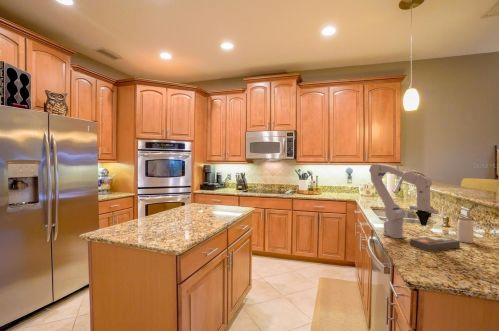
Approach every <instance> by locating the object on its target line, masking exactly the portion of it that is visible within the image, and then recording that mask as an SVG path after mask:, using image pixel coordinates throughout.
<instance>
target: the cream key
mask: <svg viewBox="0 0 499 331" xmlns="http://www.w3.org/2000/svg"><path fill="white" fill-rule="evenodd" d="M426 237H427V240H431V241H434V242H440V241H442V239H440V238H437V237H433V236H426Z"/></svg>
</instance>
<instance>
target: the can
mask: <svg viewBox="0 0 499 331" xmlns="http://www.w3.org/2000/svg"><path fill="white" fill-rule="evenodd" d="M456 226H457V232H456V233H457V241H460V243H465V244H473V243H474V222H473V219H471V218H465V217H463V218H462V217H459V218H458V219H457V224H456Z"/></svg>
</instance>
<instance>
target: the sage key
mask: <svg viewBox="0 0 499 331" xmlns="http://www.w3.org/2000/svg"><path fill="white" fill-rule="evenodd" d="M444 237H445V236H442V237H441V238H440V239H442V240H444V241H449V240H451V239H452V238H449V239H447V238H448V237H446V238H444Z"/></svg>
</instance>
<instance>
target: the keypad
mask: <svg viewBox="0 0 499 331" xmlns="http://www.w3.org/2000/svg"><path fill="white" fill-rule="evenodd" d="M427 237H428V236H426V237H425V236H424V237H417V238H416V237H415V238H414V237H413V238H410V239H409V245H411V246H413V247H415V248H419V249H421V250H424V251H427V252H432V251H441V250H448V249H449V250H450V249H456V248H460V246H461V244H460V243H461V242H460V241H458V239H457V240H456V239H454V238H449V237H445V236H442V235H436V236H432V237H437V238H441V237H444V238H447V239H451V240H449V241H444V240H442V241H440V242H434V241H431V240H428V241H431V243H423V242H420V241H417V240H423V239H424V240H427Z"/></svg>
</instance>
